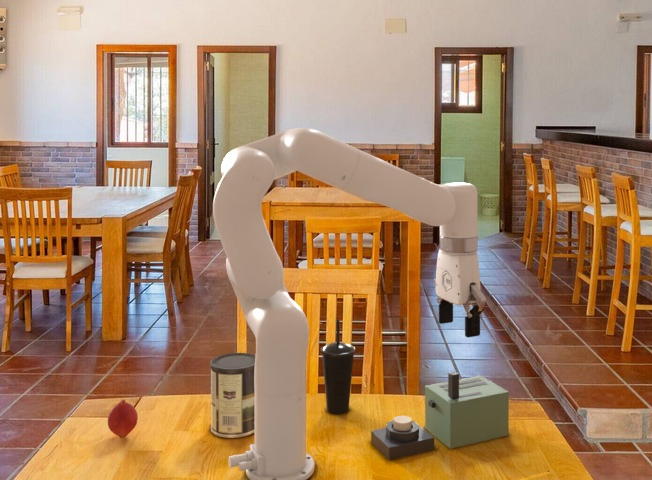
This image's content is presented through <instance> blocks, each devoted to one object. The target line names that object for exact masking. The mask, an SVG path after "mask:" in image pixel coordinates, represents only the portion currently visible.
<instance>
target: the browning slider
mask: <svg viewBox="0 0 652 480" xmlns="http://www.w3.org/2000/svg"><path fill="white" fill-rule="evenodd" d="M459 379H460V373H458V372H456V371H450V372H448V374H447V382H448V396H449V397H450V398H451V399H456V398H459Z"/></svg>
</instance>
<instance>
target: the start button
mask: <svg viewBox="0 0 652 480" xmlns="http://www.w3.org/2000/svg"><path fill="white" fill-rule="evenodd" d="M392 420H393V428H394V429H395V430H399V431H407V430H411V428H412V421H413V420H412V417H410V416H408V415H396V416H394V417H393V419H392Z"/></svg>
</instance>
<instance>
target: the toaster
mask: <svg viewBox="0 0 652 480" xmlns="http://www.w3.org/2000/svg"><path fill="white" fill-rule="evenodd" d="M509 397H510V392H509V391H508V390H506V389H505V388H503V387H502V386H500V385H498V384H496V383H495V382H493V381H491V380H489V378H486V377H484V376H483V375H475V376H471V377H465V378H464V377H463V378H459V398H456V399H451V398H450V397H449V396H448V381H444V382H438V383H432V384H427V385H424V430H426V431H427V432H428V433H429V434H431V435H432V436H433V437H434V438H436V439H438V440H439V441H440V442H441V443H442V444H444V445H445V447H447V448H449V449H455V448H460V447H464V446H468V445H472V444H476V443H477V444H478V443H481V442H485V441H489V440H494V439H499V438H502V437H507V436H509V433H510V432H509V429H510V428H509V426H510V425H509V424H510V423H509V419H510V417H509V415H510V414H509V412H510V408H509V407H510V406H509V405H510V403H509V402H510V399H509Z"/></svg>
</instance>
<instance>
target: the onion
mask: <svg viewBox="0 0 652 480" xmlns="http://www.w3.org/2000/svg"><path fill="white" fill-rule="evenodd" d="M138 415H139V414H138V411H137V410H136V408H135V406H133V405H132V404H131V403H129V402H127V400H126V398H121V400H119V402H118V403H117V404H115V405H114V406H113V408H112V409H111V410H110V412H109V413H108V416H107V426H108V430H109V431H110V432H111V433H113V434H114V435H115V436H117V437H119V438H120V439H125V438H126V437H127V436H128V435H129V434H130V433H131V432H132V431H133V430H134V429H135V428H136V426H137V424H138V419H139V416H138Z"/></svg>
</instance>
